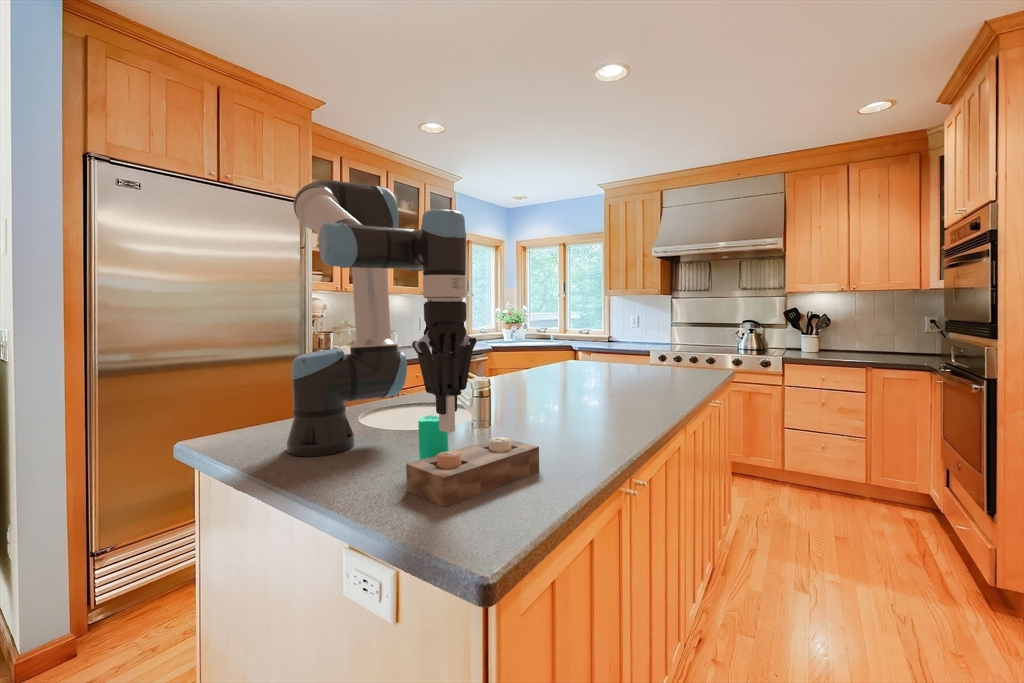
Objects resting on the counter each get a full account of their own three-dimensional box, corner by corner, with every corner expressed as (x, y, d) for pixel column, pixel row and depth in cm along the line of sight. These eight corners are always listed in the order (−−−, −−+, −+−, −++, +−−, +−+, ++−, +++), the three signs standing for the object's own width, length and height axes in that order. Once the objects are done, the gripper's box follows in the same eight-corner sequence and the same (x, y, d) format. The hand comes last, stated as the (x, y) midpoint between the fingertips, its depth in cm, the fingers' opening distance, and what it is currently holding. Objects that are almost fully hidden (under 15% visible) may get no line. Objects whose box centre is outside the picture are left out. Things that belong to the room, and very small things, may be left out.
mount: (407, 490, 88) (406, 463, 88) (501, 459, 105) (500, 437, 105) (444, 507, 80) (443, 477, 80) (539, 471, 98) (539, 446, 97)
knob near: (432, 488, 88) (431, 454, 88) (451, 482, 91) (450, 449, 91) (447, 494, 85) (446, 459, 85) (466, 487, 88) (466, 454, 88)
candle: (443, 473, 97) (441, 414, 96) (415, 472, 98) (413, 413, 97) (452, 464, 103) (451, 408, 102) (426, 463, 104) (424, 407, 103)
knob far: (485, 470, 97) (484, 440, 97) (500, 465, 100) (500, 435, 100) (500, 475, 94) (500, 444, 94) (516, 470, 97) (515, 439, 97)
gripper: (427, 300, 79) (430, 442, 81) (486, 300, 88) (487, 427, 90) (401, 300, 84) (404, 434, 86) (459, 300, 93) (461, 420, 95)
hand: (447, 430), depth 88 cm, fingers closed
